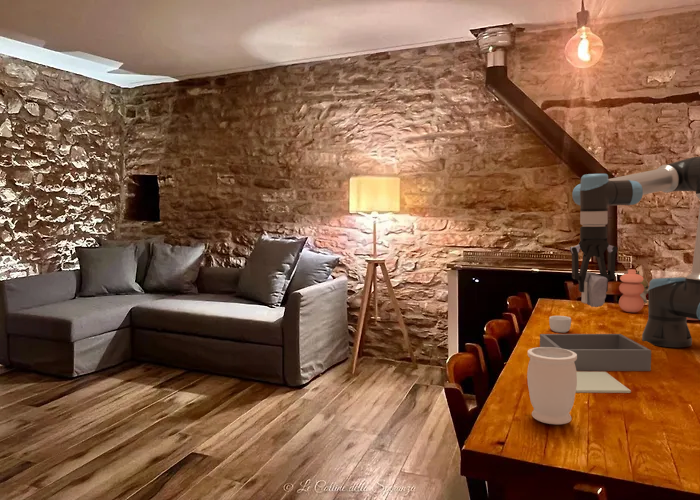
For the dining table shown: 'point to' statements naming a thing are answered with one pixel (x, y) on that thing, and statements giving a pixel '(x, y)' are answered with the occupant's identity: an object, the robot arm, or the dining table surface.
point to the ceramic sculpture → (645, 284)
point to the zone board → (598, 383)
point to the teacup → (560, 323)
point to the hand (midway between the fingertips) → (592, 302)
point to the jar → (552, 383)
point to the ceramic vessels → (632, 292)
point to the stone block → (596, 289)
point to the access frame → (601, 351)
